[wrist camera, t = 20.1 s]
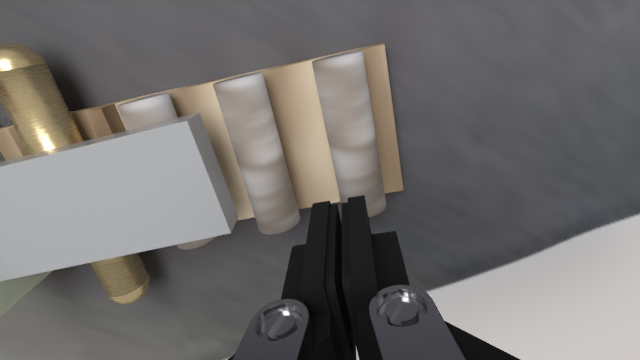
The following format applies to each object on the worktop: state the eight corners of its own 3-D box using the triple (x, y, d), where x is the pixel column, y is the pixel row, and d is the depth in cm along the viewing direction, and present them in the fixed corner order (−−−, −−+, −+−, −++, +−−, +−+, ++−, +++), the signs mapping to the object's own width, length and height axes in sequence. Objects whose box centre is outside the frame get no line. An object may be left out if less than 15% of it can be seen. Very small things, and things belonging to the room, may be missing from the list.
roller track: (380, 43, 23) (393, 46, 19) (399, 181, 27) (413, 209, 23) (6, 125, 26) (-55, 144, 21) (72, 242, 29) (30, 277, 25)
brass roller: (43, 35, 21) (-19, 42, 19) (163, 289, 28) (129, 317, 26) (22, 44, 22) (-37, 51, 20) (141, 282, 30) (107, 308, 27)
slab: (199, 112, 20) (186, 120, 19) (238, 216, 23) (231, 233, 21) (-42, 172, 22) (-76, 185, 20) (20, 263, 25) (-5, 282, 23)
